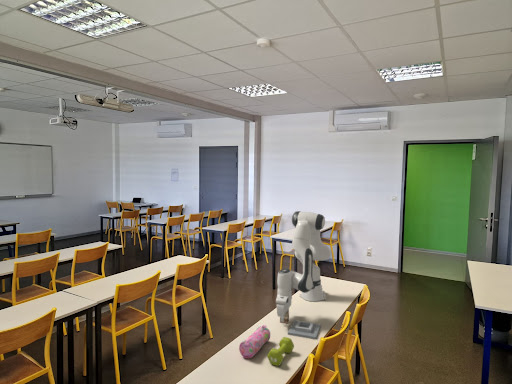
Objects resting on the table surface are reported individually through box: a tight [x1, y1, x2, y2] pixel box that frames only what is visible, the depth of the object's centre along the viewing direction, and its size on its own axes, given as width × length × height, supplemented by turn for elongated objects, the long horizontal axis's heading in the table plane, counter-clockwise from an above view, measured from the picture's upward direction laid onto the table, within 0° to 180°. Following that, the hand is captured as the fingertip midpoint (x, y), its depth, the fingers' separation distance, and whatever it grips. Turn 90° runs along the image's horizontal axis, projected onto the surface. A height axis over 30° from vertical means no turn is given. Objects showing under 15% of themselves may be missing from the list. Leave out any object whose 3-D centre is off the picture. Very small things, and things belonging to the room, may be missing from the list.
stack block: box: [279, 310, 290, 325], centre depth 200 cm, size 4×4×6 cm
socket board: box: [287, 320, 322, 340], centre depth 189 cm, size 16×16×3 cm
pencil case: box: [238, 324, 271, 359], centre depth 169 cm, size 21×9×9 cm, turn 152°
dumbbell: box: [267, 336, 295, 367], centre depth 161 cm, size 16×8×7 cm, turn 149°
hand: (284, 317), depth 200 cm, fingers open, 8 cm apart
